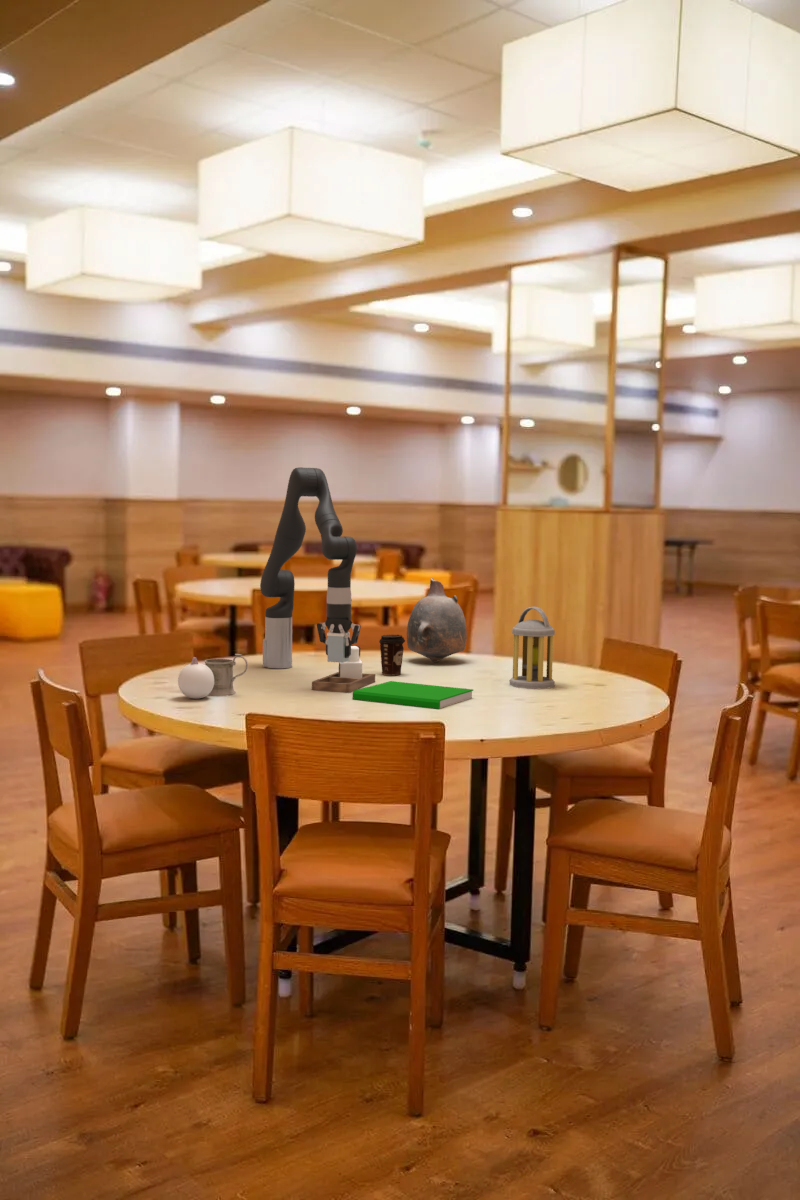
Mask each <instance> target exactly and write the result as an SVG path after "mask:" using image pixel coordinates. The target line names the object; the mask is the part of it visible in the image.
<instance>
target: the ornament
mask: <svg viewBox="0 0 800 1200" xmlns="http://www.w3.org/2000/svg"><path fill="white" fill-rule="evenodd" d="M177 685H178V690H179V691H180V692H181V694H182V695H184V696H185V697H186V698H189V699H194V700H196V699H197V700H198V699H202V698H205V697H207V696H209V695H208V694H209V693H210V692H211V691H212V689H213V686H214V675H213V673H212V671H211V669H210V668H209V667H208V666H206V665H205V663H200V662H199V661H198V659H197V656H196V657H195V656H193V657H192V660H191V663H189V664H187V665H185V666H184V667H182V668H181V670H180V671H179V674H178V676H177Z"/></svg>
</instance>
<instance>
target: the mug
mask: <svg viewBox="0 0 800 1200" xmlns="http://www.w3.org/2000/svg"><path fill="white" fill-rule="evenodd" d="M234 655H235V656H233V659H230V658H229V659H228V658H210V659H205V660H204V665H206V666H208V667H209V668H210V669H211V671H212V673H213V675H214V686H213V689H212V691H211V692H210V693H209V694H208V695H207V696H213V697H215V696H216V697H219V696H221V697H223V696H233V695H235V694H237V692H236V691H235V689H234V685H233V684H234V681H235V679H236V678H237V677H240V676H243V675H244V674H246V672H247V671H248V665H249V663H248V660H247V658H245V657H244V655H243V654H242V653H235V654H234ZM237 658H241V659H243V660H244V662H245V668H244V670H243V672H240V673H239V674H237V675H235V676H234V666H236V664H237V663H236V659H237Z"/></svg>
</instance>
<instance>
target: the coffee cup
mask: <svg viewBox="0 0 800 1200" xmlns="http://www.w3.org/2000/svg"><path fill="white" fill-rule="evenodd" d="M378 642H379V644H380V660H381V661H380V663H381V675H383V676H398V675H401V673H402V666H403V658H404V646H403V645H404V643H405V642H406V640H405V638H404V637H403V635H401V634H383V635H381V638H380V639H379V641H378Z"/></svg>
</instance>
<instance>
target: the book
mask: <svg viewBox="0 0 800 1200" xmlns="http://www.w3.org/2000/svg"><path fill="white" fill-rule="evenodd" d="M473 691H474V689H473V688H463V687H454V686H453V687H452V686H442V685H434V684H433V685H432V684H422V683H413V682H405V681H404V682H403V681H394V680H391V681H386V682H383V683H378V684H375V685H370V686H365V687H362V688H360V689H357V690H354V691H353V692H352V700H355V701H364V702H371V703H372V702H374V703H383V704H391V705H398V706H399V705H400V706H406V707H407V706H408V707H417V708H425V709H434V710H440V709H442V708H445V707H448V706H451V705H454V704H455V705H456V704H458V703H461V702H464V701H467V700H470V699H472V698H473Z"/></svg>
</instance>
